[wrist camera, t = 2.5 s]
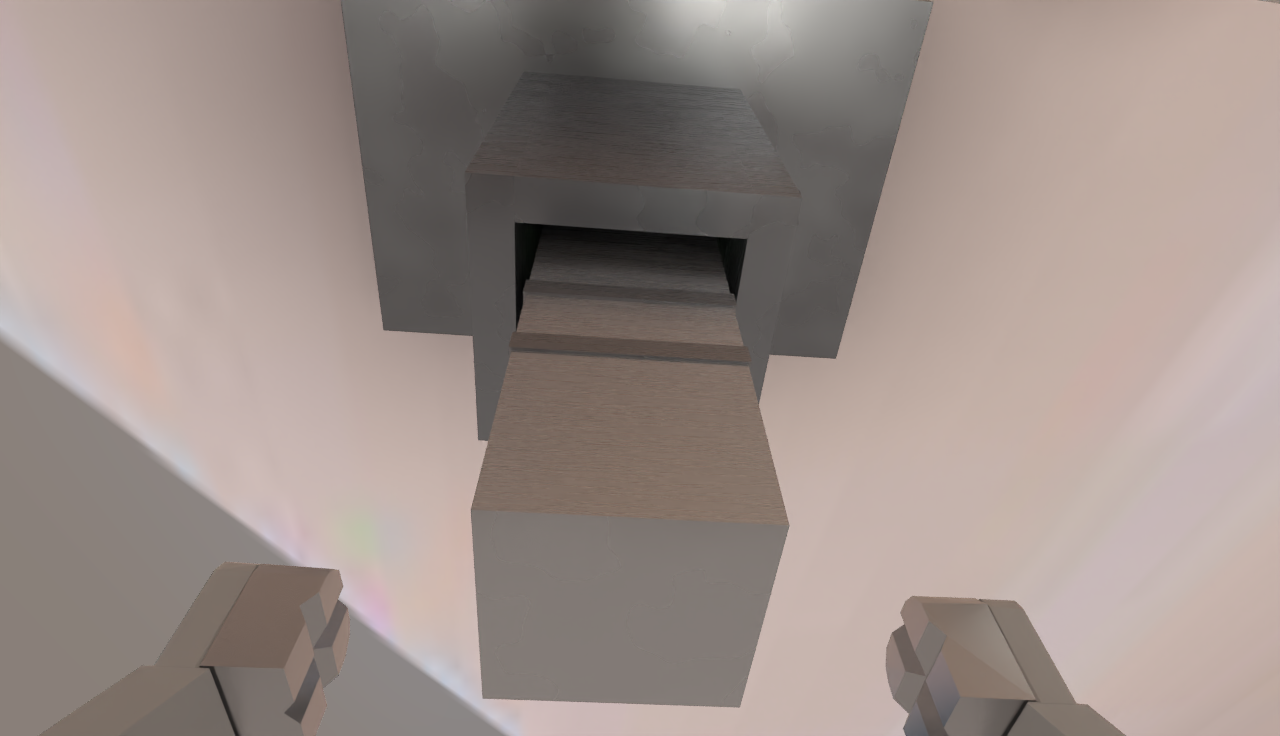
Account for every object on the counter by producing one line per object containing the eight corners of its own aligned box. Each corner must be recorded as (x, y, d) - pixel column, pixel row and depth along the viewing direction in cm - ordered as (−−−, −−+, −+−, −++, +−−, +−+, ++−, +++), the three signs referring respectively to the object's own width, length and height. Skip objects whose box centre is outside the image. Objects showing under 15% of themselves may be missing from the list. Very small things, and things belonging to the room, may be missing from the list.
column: (564, 118, 24) (457, 500, 9) (694, 128, 24) (803, 517, 9) (562, 238, 26) (473, 703, 11) (679, 247, 26) (747, 712, 11)
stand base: (355, -58, 23) (107, -13, 12) (911, -6, 24) (1150, 79, 13) (397, 305, 30) (265, 541, 19) (824, 333, 31) (931, 572, 20)
